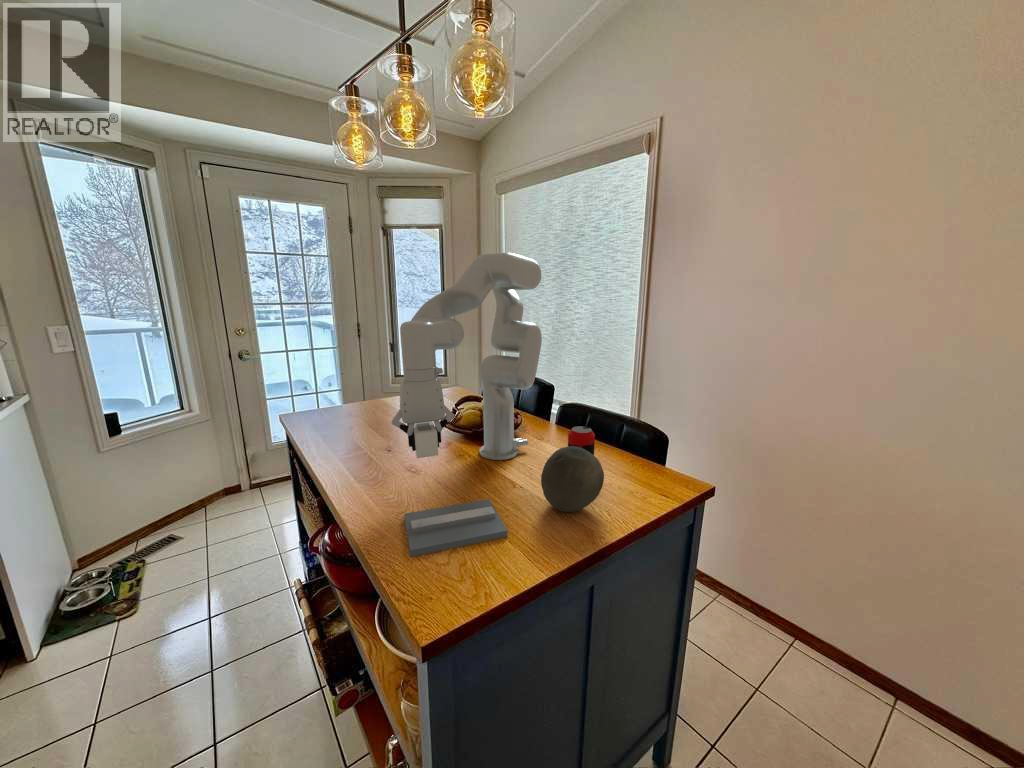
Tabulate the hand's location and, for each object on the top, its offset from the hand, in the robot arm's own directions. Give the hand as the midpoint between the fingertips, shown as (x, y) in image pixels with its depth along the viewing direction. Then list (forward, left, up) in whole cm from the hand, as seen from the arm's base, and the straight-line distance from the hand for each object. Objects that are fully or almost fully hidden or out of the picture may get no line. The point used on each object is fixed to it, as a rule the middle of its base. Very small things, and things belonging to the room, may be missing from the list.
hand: (425, 446), depth 98 cm
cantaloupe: (-32, +16, -14) cm, 38 cm away
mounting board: (-4, +15, -14) cm, 21 cm away
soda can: (-45, -3, -14) cm, 47 cm away
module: (0, 0, -1) cm, 1 cm away
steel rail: (-4, +15, -12) cm, 20 cm away
